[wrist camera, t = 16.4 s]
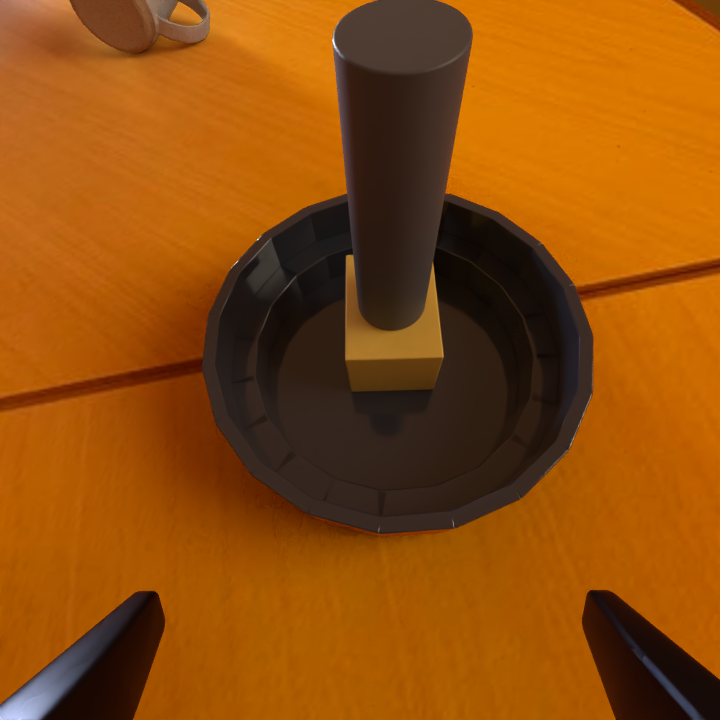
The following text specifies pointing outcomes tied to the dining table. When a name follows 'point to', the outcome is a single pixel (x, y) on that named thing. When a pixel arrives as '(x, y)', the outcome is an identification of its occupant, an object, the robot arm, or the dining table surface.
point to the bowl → (402, 407)
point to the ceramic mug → (139, 22)
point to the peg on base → (397, 181)
